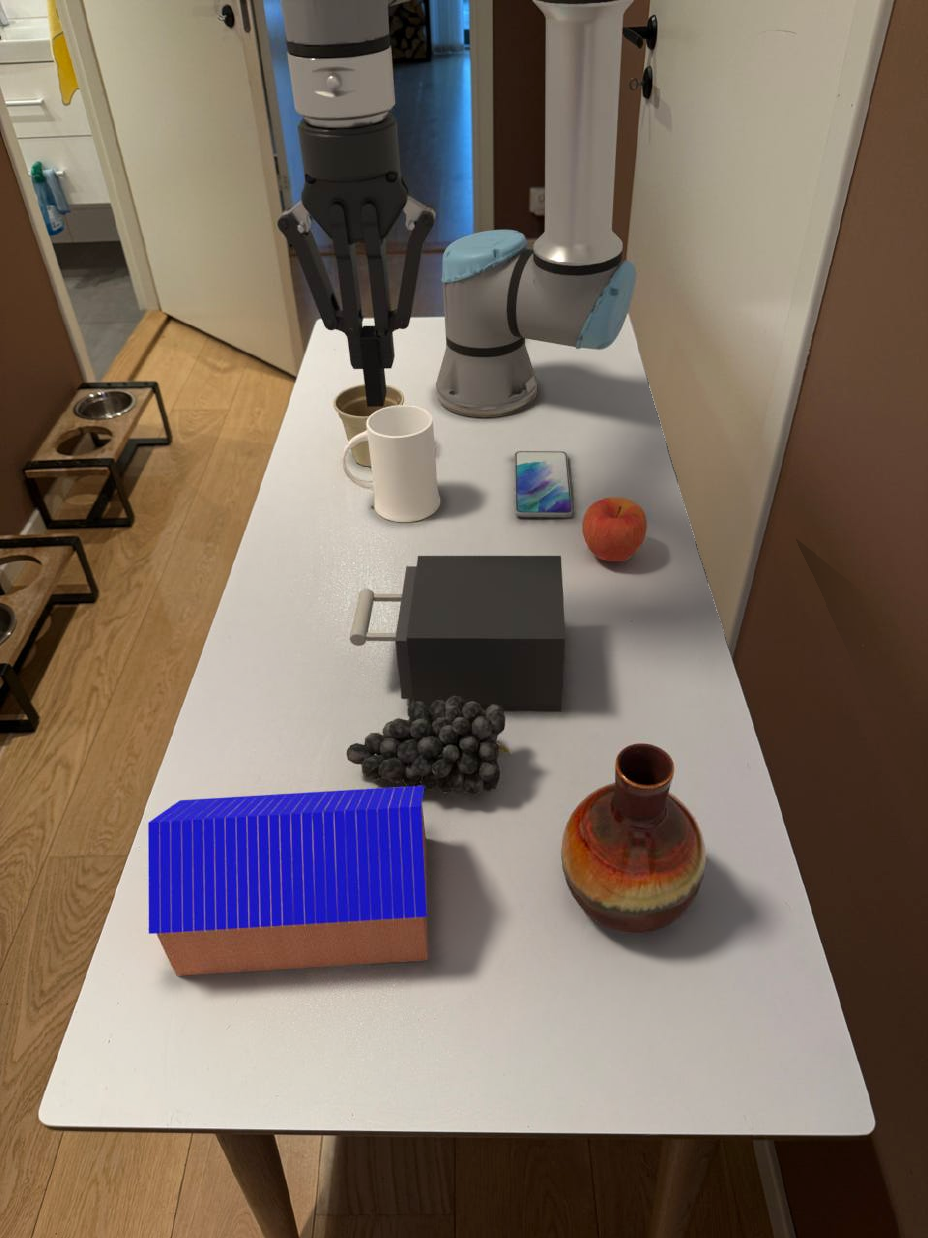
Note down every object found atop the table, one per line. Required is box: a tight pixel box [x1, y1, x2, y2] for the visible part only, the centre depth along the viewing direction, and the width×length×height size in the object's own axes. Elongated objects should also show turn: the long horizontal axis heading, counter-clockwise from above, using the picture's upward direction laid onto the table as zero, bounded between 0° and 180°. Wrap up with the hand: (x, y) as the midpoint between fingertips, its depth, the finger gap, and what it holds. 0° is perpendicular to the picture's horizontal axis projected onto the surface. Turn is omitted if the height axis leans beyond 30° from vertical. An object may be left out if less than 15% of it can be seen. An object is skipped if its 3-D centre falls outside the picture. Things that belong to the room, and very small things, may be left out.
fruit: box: [345, 696, 512, 796], centre depth 83 cm, size 9×8×15 cm
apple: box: [581, 496, 648, 562], centre depth 107 cm, size 7×7×8 cm
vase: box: [560, 742, 707, 934], centre depth 70 cm, size 11×11×16 cm
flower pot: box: [333, 383, 405, 468], centre depth 126 cm, size 9×9×9 cm
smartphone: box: [513, 450, 574, 518], centre depth 121 cm, size 7×1×15 cm
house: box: [147, 785, 429, 977], centre depth 71 cm, size 12×20×12 cm, turn 93°
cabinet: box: [406, 555, 566, 712], centre depth 92 cm, size 15×13×10 cm
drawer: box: [349, 565, 417, 700], centre depth 93 cm, size 18×11×8 cm, turn 87°
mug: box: [341, 404, 441, 523], centre depth 115 cm, size 12×8×12 cm
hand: (377, 399), depth 85 cm, fingers closed
